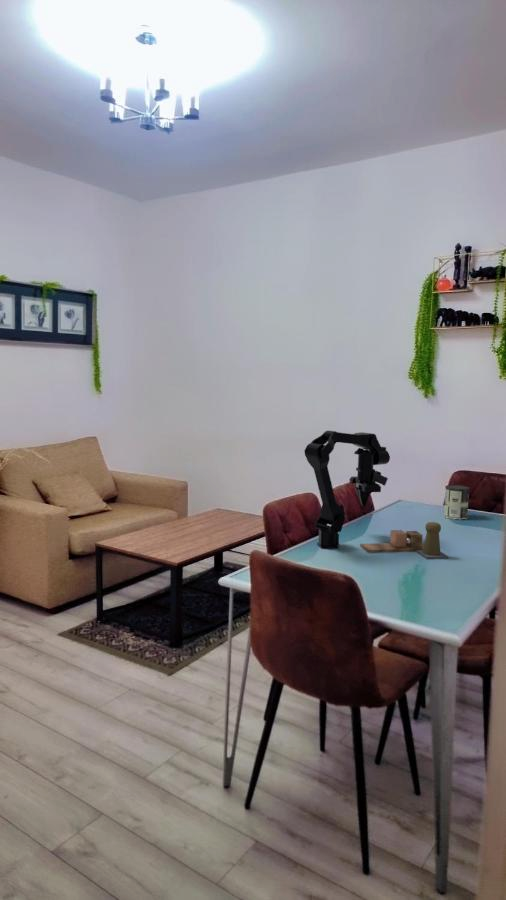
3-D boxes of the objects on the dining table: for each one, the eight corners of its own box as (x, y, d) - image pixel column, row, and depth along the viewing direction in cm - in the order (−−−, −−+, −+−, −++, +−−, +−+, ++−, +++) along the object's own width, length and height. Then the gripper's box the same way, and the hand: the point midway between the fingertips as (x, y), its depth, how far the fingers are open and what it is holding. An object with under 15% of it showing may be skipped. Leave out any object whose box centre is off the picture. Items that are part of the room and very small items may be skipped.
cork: (443, 555, 206) (445, 524, 204) (427, 555, 205) (428, 524, 204) (436, 550, 212) (437, 520, 210) (419, 550, 211) (421, 520, 209)
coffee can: (462, 515, 273) (464, 485, 272) (470, 520, 263) (472, 489, 261) (440, 514, 273) (442, 484, 272) (447, 519, 263) (449, 488, 262)
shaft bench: (367, 552, 210) (368, 536, 209) (360, 546, 218) (360, 531, 217) (431, 551, 214) (431, 535, 213) (421, 544, 221) (422, 529, 221)
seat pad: (426, 559, 204) (426, 556, 204) (416, 552, 212) (416, 550, 211) (448, 558, 205) (448, 556, 205) (437, 551, 213) (437, 549, 213)
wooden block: (395, 547, 213) (396, 533, 212) (389, 543, 218) (390, 530, 217) (421, 546, 214) (422, 533, 214) (415, 542, 219) (416, 529, 219)
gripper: (395, 469, 216) (393, 511, 218) (376, 462, 234) (374, 501, 236) (366, 469, 214) (364, 512, 216) (349, 462, 232) (348, 501, 234)
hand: (363, 506), depth 225 cm, fingers closed
